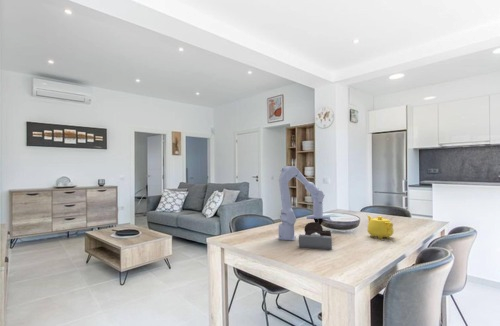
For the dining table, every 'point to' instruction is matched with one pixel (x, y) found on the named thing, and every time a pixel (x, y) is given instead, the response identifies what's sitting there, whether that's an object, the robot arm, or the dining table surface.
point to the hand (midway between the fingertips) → (318, 230)
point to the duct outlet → (315, 241)
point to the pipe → (316, 229)
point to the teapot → (380, 227)
